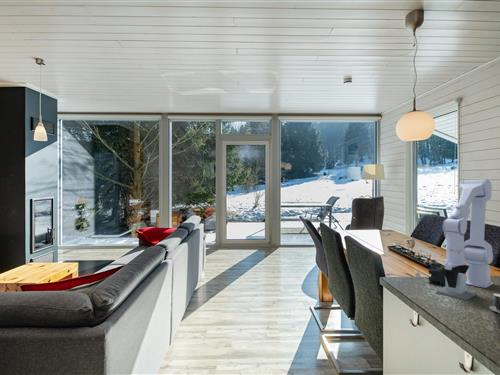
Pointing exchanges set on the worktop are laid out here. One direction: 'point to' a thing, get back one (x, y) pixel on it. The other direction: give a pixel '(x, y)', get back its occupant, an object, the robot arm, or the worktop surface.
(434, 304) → the worktop surface
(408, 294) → the worktop surface
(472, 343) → the worktop surface
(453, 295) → the board
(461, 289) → the pale blue cube
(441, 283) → the end cap
